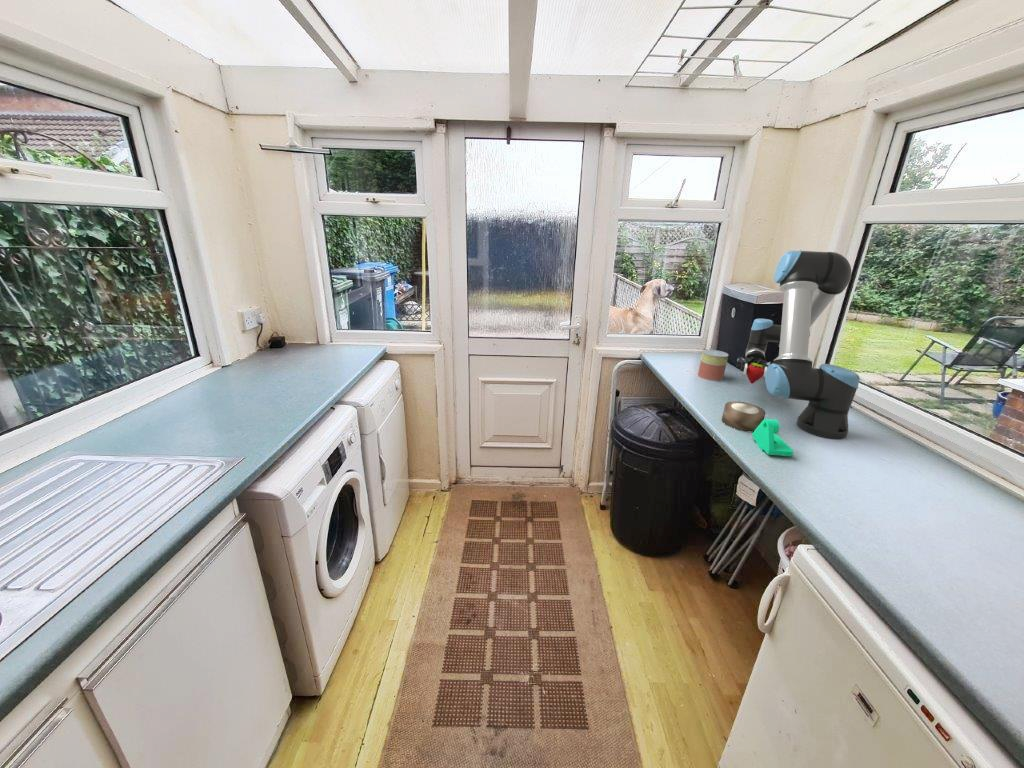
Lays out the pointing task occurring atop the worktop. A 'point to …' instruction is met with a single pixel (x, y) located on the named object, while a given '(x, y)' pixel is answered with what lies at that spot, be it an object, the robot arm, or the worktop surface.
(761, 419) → the bronze puck
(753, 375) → the strawberry
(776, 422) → the camera mount
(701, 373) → the canned food
